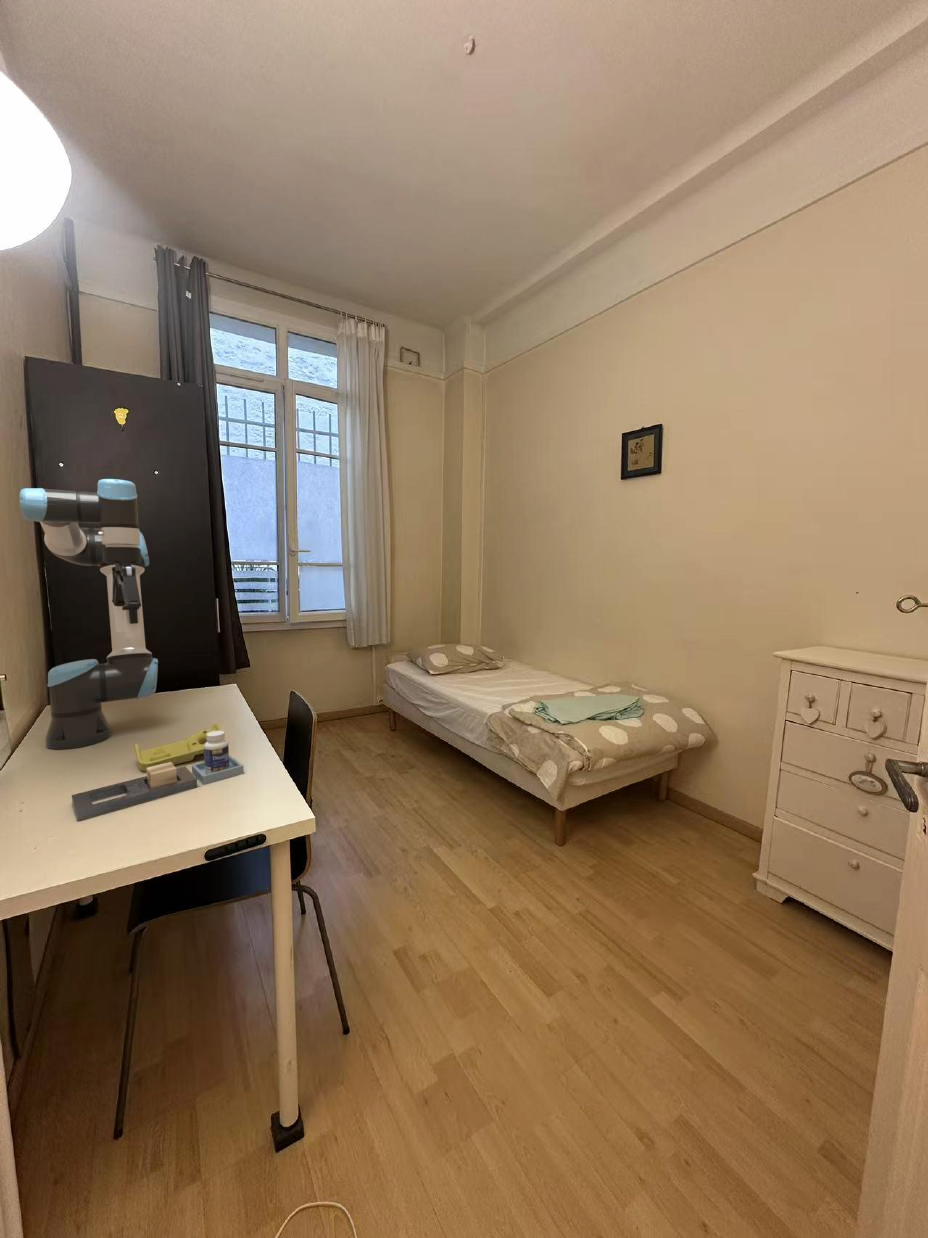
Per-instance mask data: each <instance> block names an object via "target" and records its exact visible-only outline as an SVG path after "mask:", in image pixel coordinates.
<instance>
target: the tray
mask: <svg viewBox="0 0 928 1238" xmlns="http://www.w3.org/2000/svg"><path fill="white" fill-rule="evenodd" d="M244 771H245V769H244V765H243V764H242V763H241V762H239V760H237V759H236V758H235V757H234V756H232V755H230V754H229V769H225V770H222V771H218V772H214V773H211V774H207V773H206V772H205V761H202V762H200V763H195V764H191V773H192V774H193V775H194V776H195V777H196V778H197V781H199V782H200V783H201V784H202V785H203V786H204V785H207V784H208V785H209V784H211V783H214V782H218V781H222V780H224V779H229V778H232V777H235V776H239V775H243V774H245V773H244Z"/></svg>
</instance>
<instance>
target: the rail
mask: <svg viewBox="0 0 928 1238" xmlns="http://www.w3.org/2000/svg"><path fill="white" fill-rule="evenodd" d="M175 768H176V767H175ZM176 773H177V782H173V783H169V784H166V785H162V786H158V787H155V788H151V789H148V783H147V775H144V776H142V777H138V778H133V779H131V780H130V779H129V780H125V781H121V782H118V783H114V784H109V785H106V786H102V787H99V788H95V789H90V790H86V791H83V792H79V793H75V794H71V805H72V808H73V810H74V813H75V817H76V820H77V822H81V821H83V820H87V819H91V818H95V817H98V816H101V815H105V814H109V813H112V812H116V811H118V810H119V811H120V810H123V809H125V808H130V807H133V806H137V805H140V804H144V803H146V802H150V801H151V802H152V801H154V800H157V799H161V798H165V797H169V796H172V795H176V794H179V793H183V792H185V791H189V790H192V789H196V788H198V778H197V777H196V776H195V775H194V774H193V773H192V771H190V770H189V769H188V768H187V767H186V766H181V767H177V768H176ZM121 794H125V795H122V796H119V795H121ZM115 796H118V797H115ZM111 797H114V798H111ZM107 798H111V799H107ZM105 799H107V800H105ZM100 800H103V801H100ZM97 801H100V802H97ZM93 802H97V803H93Z"/></svg>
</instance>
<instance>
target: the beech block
mask: <svg viewBox="0 0 928 1238" xmlns="http://www.w3.org/2000/svg"><path fill="white" fill-rule="evenodd" d="M146 769H147V772H146V776H147V783H148V789H151V788H155V787H158V786H162V785H166V784H169V783H173V782H177V773H176V766H175V765H173V764H172V763H171V762H169V763H165V764H161V765H156V766H152V767H148V768H146Z"/></svg>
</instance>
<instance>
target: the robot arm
mask: <svg viewBox="0 0 928 1238" xmlns="http://www.w3.org/2000/svg"><path fill="white" fill-rule="evenodd" d="M19 506H20V512H21V515H22V517H23V519H24V520H26V521H32V522H38V523H40V525H41V528H42V530H43V532H44V537H43V540H44V545H46V547H47V549H48V551H50V552H51V553H52V554H53V555H54V556H56V557H57V558H59V559H62V560H64V561H66V562H69V563H72V564H75V565H79V566H85V567H86V566H88V567H89V566H92V567H93V566H94V567H99V571H100V572H101V574H103V575H105V576H106V584H107V597H108V598H107V599H108V611H109V612H108V613H109V625H110V636H111V640H110V641H111V649H112V650H111V652H110V653H109V654H108V655H106V656H107V657H106V662H104V663H99V661H98V660H97V659H95V658H90V659H82V660H77V661H72V662H67V663H63V664H59V665H56V666H54V667H52V668H51V669H50V670H49V671H48V673H47V687H48V692H49V693H48V694H49V704H50V705H49V706H50V716H51V720H50V723H49V727H48V729H47V732H46V736H45V739H44V740H45V747H46V748H48V749H50V750H67V749H75V748H82V747H87V746H90V745H94V744H97V743H101V742H104V741H105V740H107V739H109V738H110V737H111V736H112V731H111V726H110V724H109V723H108V720H107V718H106V716H105V715H104V713H103V710H102V703H109V702H116V701H117V702H118V701H124V700H133V699H139V698H146V697H151V696H153V695H154V694H155V693H156V690H157V683H158V670H159V669H158V668H159V666H158V665H159V660H158V658H155V657H153V654H152V652H151V651H150V650H149V649H147V648H146V637H145V625H144V613H143V603H142V590H141V589H142V587H141V577H140V576H141V575H142V574H143V573H144V572H145V567H149V565H150V558H149V552H148V547H147V544H146V540H145V537H144V535H143V533H142V531H140V526H139V511H138V509H139V508H138V507H139V506H138V494H137V488H136V484H135V483H134V482H132V481H130V480H126V479H125V480H124V479H117V478H115V479H114V478H103V479H99V480H98V482H97V491H96V492H91V491H77V490H64V489H52V488H51V489H50V488H49V489H48V488H42V487H38V488H34V487H33V488H31V487H30V488H29V487H28V488H27V487H26V488H22V489H21V490H20V492H19ZM80 523H81V524H100V528H98V527H97V528H96V527H94V528H92V527H90V528H89V527H80V526H79V524H80Z"/></svg>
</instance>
